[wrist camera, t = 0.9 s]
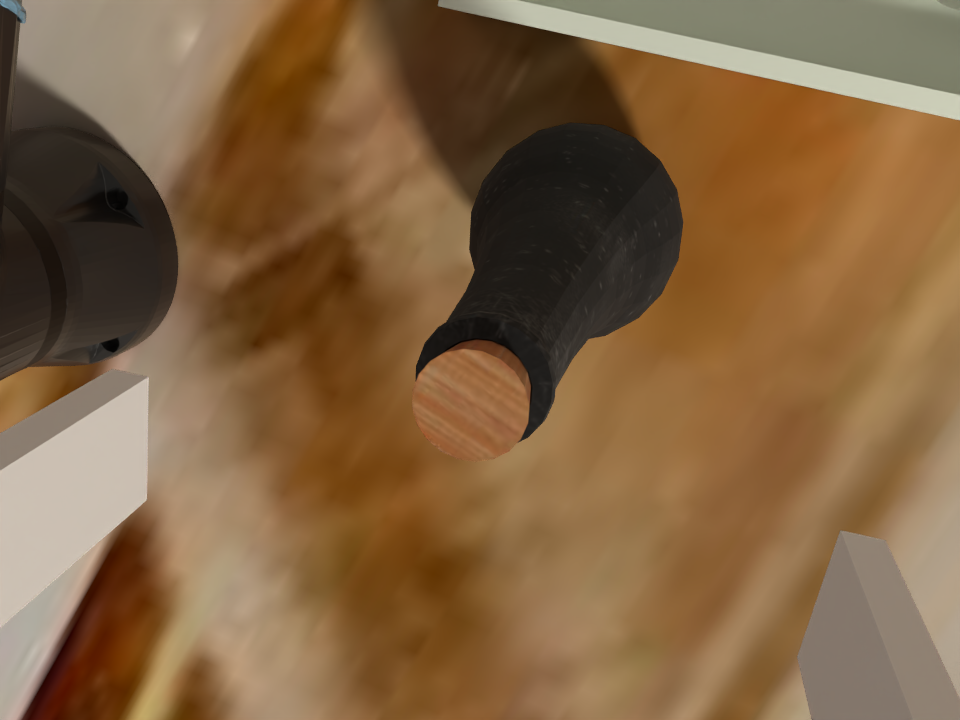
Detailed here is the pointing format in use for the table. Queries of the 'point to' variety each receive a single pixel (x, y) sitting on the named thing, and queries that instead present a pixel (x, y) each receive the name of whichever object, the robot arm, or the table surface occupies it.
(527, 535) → the table surface
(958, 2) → the cream capsule cylinder
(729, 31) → the tote
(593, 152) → the bottle
